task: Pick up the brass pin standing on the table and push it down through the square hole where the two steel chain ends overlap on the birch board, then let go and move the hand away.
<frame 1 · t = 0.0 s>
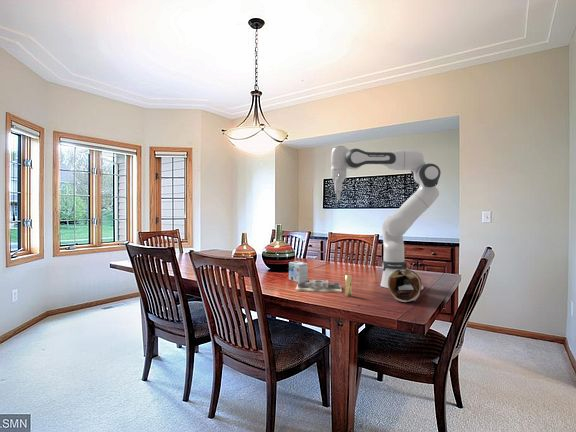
hand: (338, 200, 192), 48 cm above the table, tool pointing down, fingers open, 8 cm apart
clay pot: (405, 296, 168), on the table
light bulb box: (298, 280, 204), on the table
chain ends board: (318, 289, 182), on the table
brass pin: (348, 295, 168), on the table
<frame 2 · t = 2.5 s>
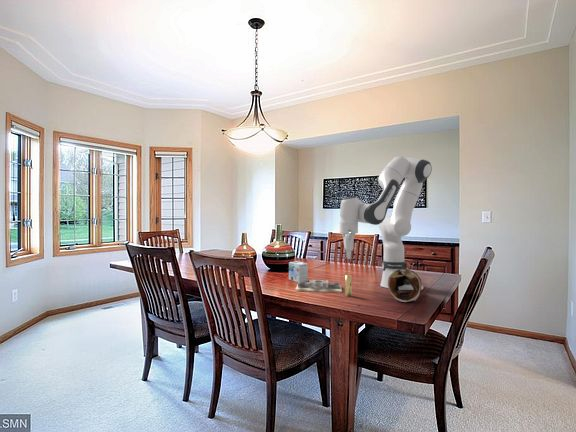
hand: (348, 257, 168), 19 cm above the table, tool pointing down, fingers open, 8 cm apart
nothing on the table moved.
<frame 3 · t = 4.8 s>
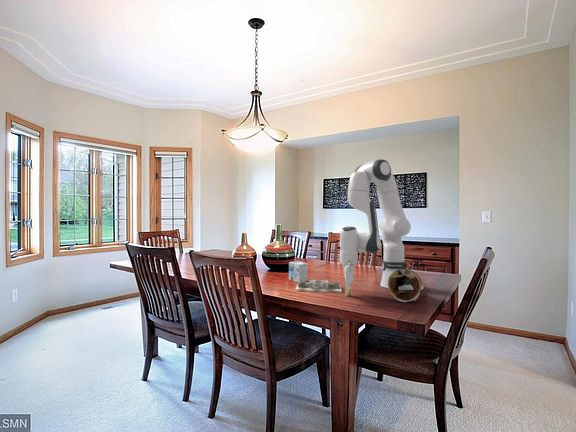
hand: (348, 287, 168), 4 cm above the table, tool pointing down, fingers closed on brass pin, 3 cm apart
brass pin: (348, 295, 168), on the table, touching gripper
everything else where it was.
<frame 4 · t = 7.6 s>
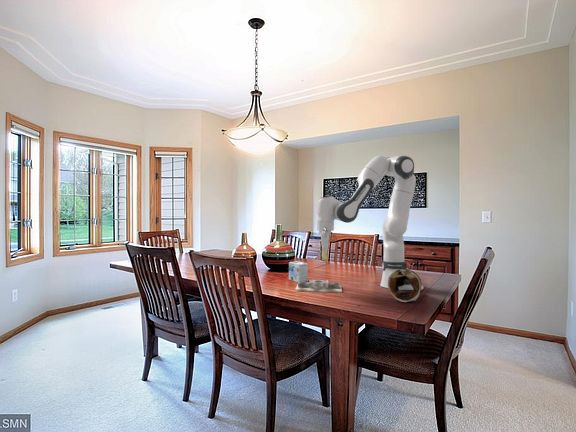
hand: (324, 253, 178), 20 cm above the table, tool pointing down, fingers closed on brass pin, 3 cm apart
brass pin: (324, 261, 178), point 16 cm above the table, touching gripper
everything else where it was.
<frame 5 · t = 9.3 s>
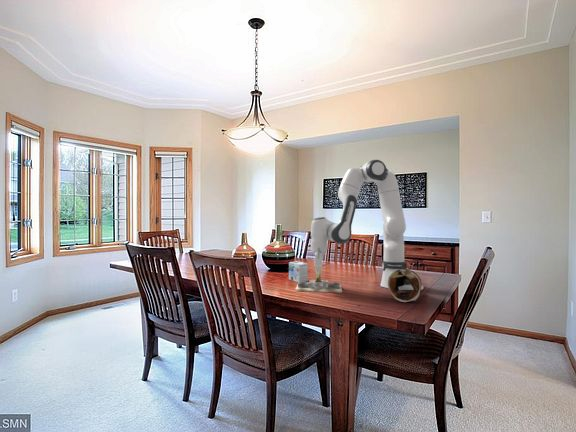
hand: (318, 273, 182), 8 cm above the table, tool pointing down, fingers closed on brass pin, 3 cm apart
brass pin: (318, 280, 182), point 4 cm above the table, touching gripper
everything else where it was.
when the fingers open (6 cm above the table, at t = 10.4 s): brass pin stays where it is, resting on chain ends board.
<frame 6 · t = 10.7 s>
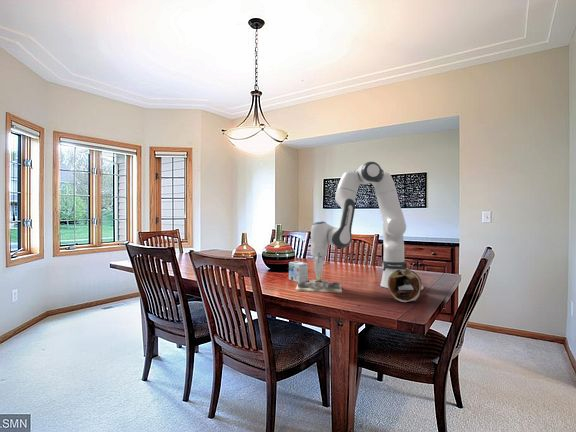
hand: (318, 277, 182), 6 cm above the table, tool pointing down, fingers open, 6 cm apart
brass pin: (318, 287, 182), point 1 cm above the table, touching chain ends board
everything else where it was.
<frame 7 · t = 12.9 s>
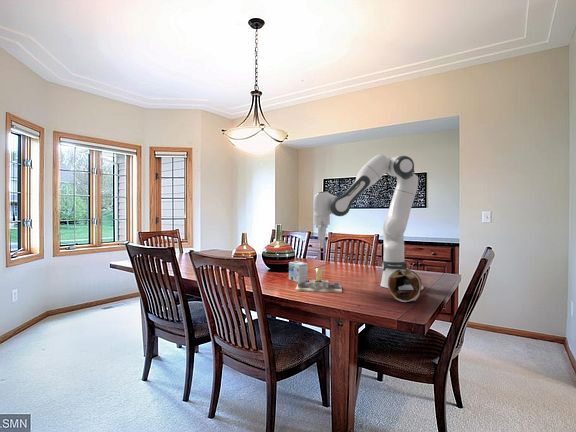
hand: (322, 246, 185), 22 cm above the table, tool pointing down, fingers open, 8 cm apart
nothing on the table moved.
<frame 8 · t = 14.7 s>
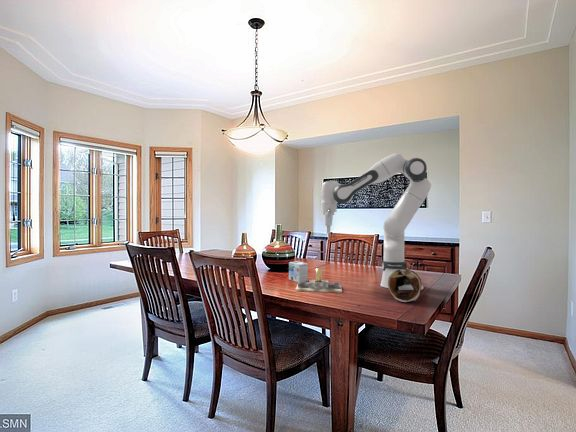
hand: (328, 233, 195), 29 cm above the table, tool pointing down, fingers open, 8 cm apart
nothing on the table moved.
at the end: brass pin 0.1 cm from the chain ends board (horizontally); brass pin point 1.0 cm above the table; the gripper is holding nothing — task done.
